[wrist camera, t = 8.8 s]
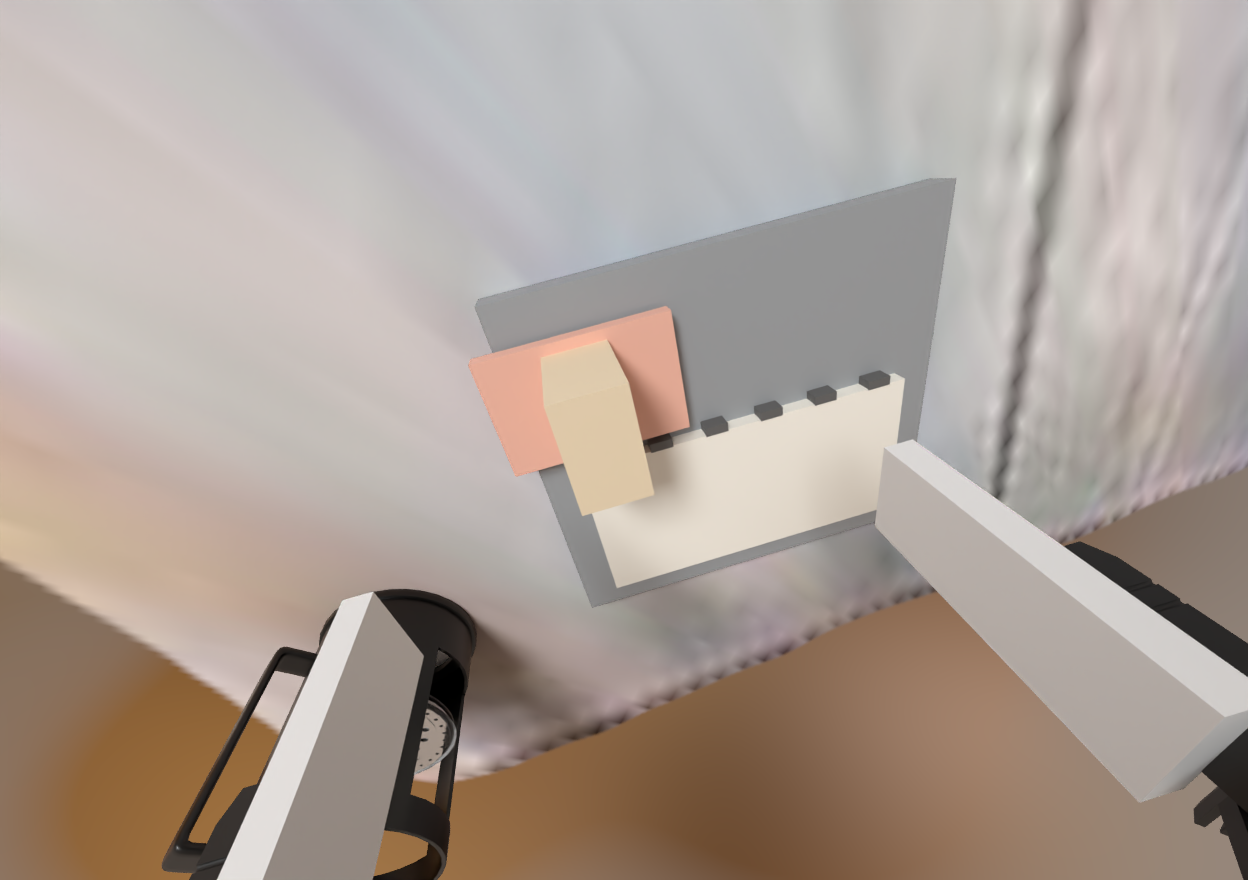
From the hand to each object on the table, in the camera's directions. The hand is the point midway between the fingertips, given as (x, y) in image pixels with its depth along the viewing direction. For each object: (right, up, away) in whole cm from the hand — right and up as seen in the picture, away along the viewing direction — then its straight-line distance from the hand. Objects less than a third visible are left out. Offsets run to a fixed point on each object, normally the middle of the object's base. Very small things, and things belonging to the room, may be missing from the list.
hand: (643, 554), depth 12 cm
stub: (-2, +5, +10) cm, 11 cm away
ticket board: (+6, +4, +14) cm, 16 cm away
